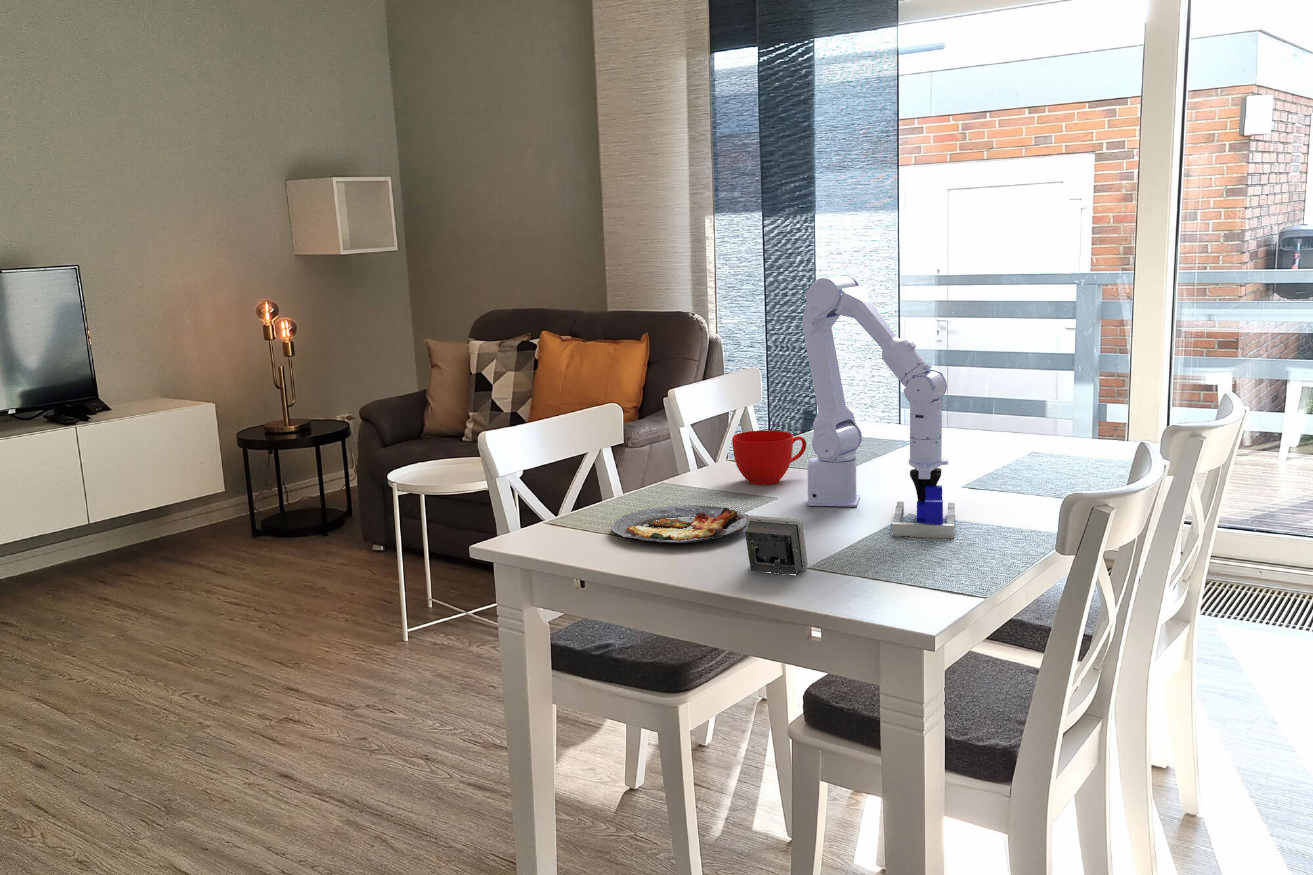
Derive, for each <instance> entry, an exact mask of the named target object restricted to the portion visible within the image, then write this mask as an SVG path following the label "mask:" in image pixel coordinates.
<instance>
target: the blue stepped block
mask: <svg viewBox="0 0 1313 875" xmlns="http://www.w3.org/2000/svg"><path fill="white" fill-rule="evenodd" d="M943 505H944V500H943V485H938V484H937V485H925V501H918V500H917V501H916V523H939V524H944V506H943Z"/></svg>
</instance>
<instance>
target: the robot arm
mask: <svg viewBox="0 0 1313 875" xmlns="http://www.w3.org/2000/svg"><path fill="white" fill-rule="evenodd" d="M804 295H805V300H806V303H805V306H804V311H803V316H802V319H801V327H802V332H803V338H804V343H805V348H806V352H807V359H808V364H809V369H810V374H811V380H812V384H813V390H814V396H815V397H814V398H815V401H816V407H817V414H816V416H815V418H814V421H813V423H812V428H813V435H812V438H811V439H812V440H811V446H812V450H813V451H814V454H815V455H816V456H817V457H810V458H808V462H807V463H808V464H807V499H808V500H807V506H809V507H811V506H812V507H813V506H814V507H846V508H847V507H851V508H854V507H855V508H856V507H857V506H858V505H859V504H858V503H859V501H860V499H861V495H860V494H857V449H858V448H860V446H861V445H862V441H863V434H862V430H861V428H860V427H859V426H858V423H857V422H856V420H855V415H854V413H853V412H852V411H851V409H849V408H848V407H847V404H846V400H845V394H844V389H843V383H842V377H841V372H840V367H839V361H838V357H837V351H836V345H835V340H834V333H833V326H834V325H835V324H836V322H837V320H838V319H839V318H840V317H841V316H844V317H847V318H852V319H855V321H856V322H857V323H858V324H859V325H860V326H861V327H862V329H864V331H865V332H866V333H867V334H868V335H869V336H870V337H871V338H872V340H873V341H874V342H875V343H876V344H877V345H878V346H879V347H880V349H881V359H882V361H883V362H884V363H885V364H886V366H887V367H888V368H889V369H890V371H891V372H892V373H893V374H894V376H895V377H896V378H897V379H898V380H899V382H900V383H901V384H902V385H903V386H904V387H905V388H903V394H904V397H905V399H906V401H908V403H909V459H908V465H909V466H911V467H912V469H910V471H909V477H910V479H911V481H912V483H913V485H914V487H915V491H916V497H917V501H925V485H938V484H939V480H940V478H941V477H942V468H940V467H941V466H947V465H949V459H947V458H942V457H943V456H942V454H943V453H942V452H943V451H942V450H943V449H942V448H943V445H942V444H943V438H942V437H943V429H942V428H943V409H942V407H943V406H942V404H943V399H942V397H944V396H945V395H946V393H947V389H948V383H947V379H946V378H945V376H944V374H943V372H942V371H940V370H938V369H934V368H933V367H932V365H931V363H927V362H926V361H925V359H924V358H923V357H922V356H921V355H920V354H919V352H918V351H917V350H916V348H917V345H916V344H915V343H914V341H909V340H908V339H907V338H901V337H897V336H896V334H895V333H894V331H893V330H892V328H890V325H889V324H888V322H886V320H885V319H884V318H883V316H882V315H881V313H880V312H879V311H878V309H877V308H876V307H875V305H874V304H873V302H872V301H871V300H870V296H868V292H867V290H866V289H865V288H864V287H863V286H862V285H860V283H859V282H858V280H857V279H856V278H855V277H854V276H853V275H849V274H843V275H839V276H833V277H820V278H817V279H816V280H814V282H812V284H811V285H810V286H809V287H808V289H807V290H806V291H805V293H804Z"/></svg>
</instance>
